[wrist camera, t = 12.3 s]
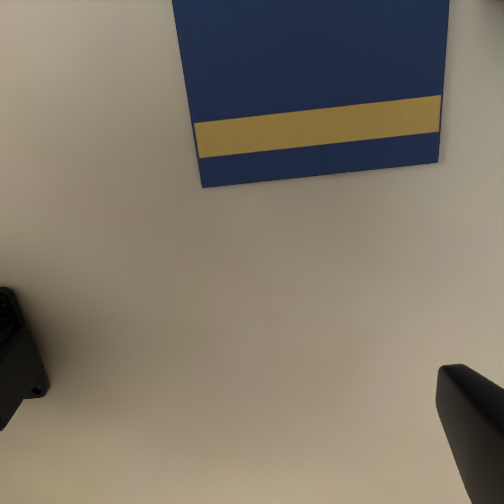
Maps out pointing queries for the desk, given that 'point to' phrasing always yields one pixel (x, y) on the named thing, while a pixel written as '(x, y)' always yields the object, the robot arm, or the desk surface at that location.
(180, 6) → the book
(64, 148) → the desk surface
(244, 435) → the desk surface
